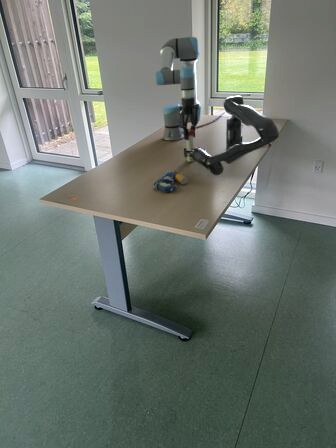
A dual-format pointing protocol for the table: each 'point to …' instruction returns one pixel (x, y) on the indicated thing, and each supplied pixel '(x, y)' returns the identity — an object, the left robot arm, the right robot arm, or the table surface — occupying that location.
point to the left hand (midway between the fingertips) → (189, 138)
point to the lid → (190, 132)
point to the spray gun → (169, 181)
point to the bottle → (190, 146)
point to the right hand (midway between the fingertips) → (188, 148)
